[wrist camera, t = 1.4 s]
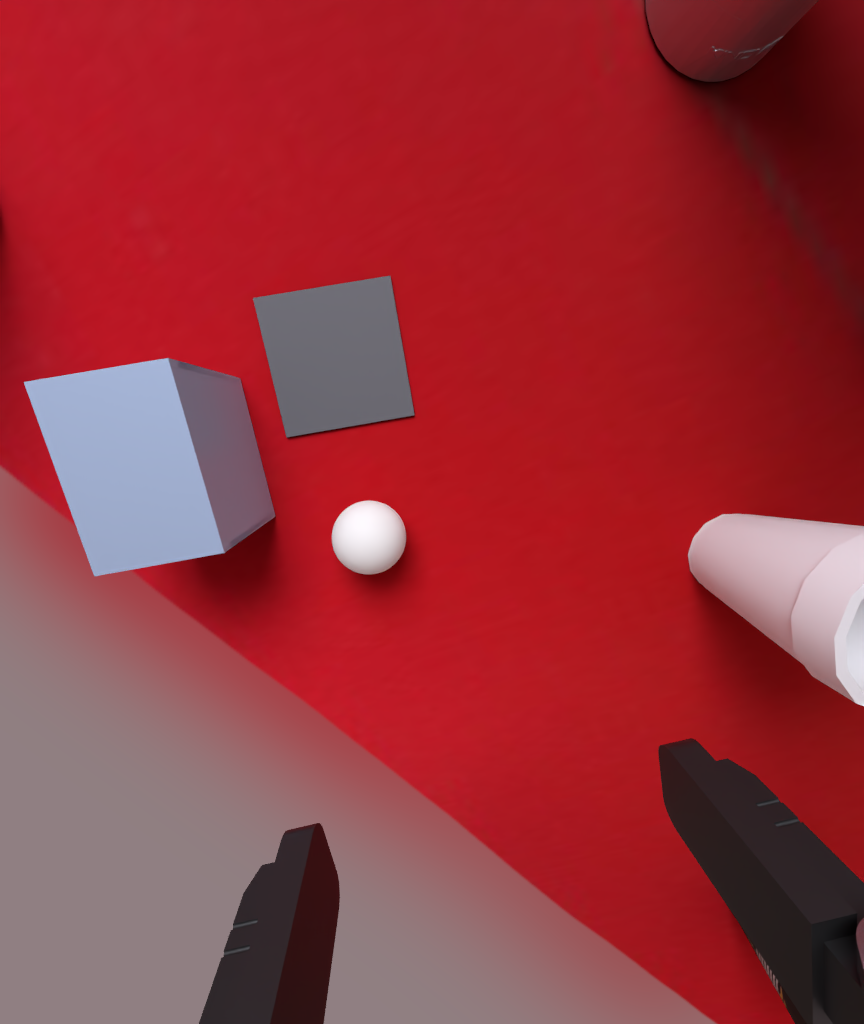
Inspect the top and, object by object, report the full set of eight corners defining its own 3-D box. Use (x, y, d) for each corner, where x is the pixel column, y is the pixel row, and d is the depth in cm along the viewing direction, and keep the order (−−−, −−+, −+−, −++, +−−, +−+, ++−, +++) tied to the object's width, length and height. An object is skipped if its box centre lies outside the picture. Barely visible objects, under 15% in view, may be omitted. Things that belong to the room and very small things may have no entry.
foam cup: (663, 610, 34) (819, 721, 21) (673, 497, 32) (850, 545, 19) (775, 603, 34) (993, 707, 22) (791, 491, 32) (1040, 535, 20)
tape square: (254, 298, 27) (253, 298, 27) (390, 276, 28) (390, 275, 27) (287, 437, 29) (286, 437, 29) (414, 415, 29) (414, 415, 29)
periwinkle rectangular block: (140, 395, 28) (23, 382, 19) (240, 378, 28) (167, 357, 20) (182, 532, 30) (94, 576, 22) (275, 516, 30) (224, 552, 22)
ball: (331, 501, 30) (317, 516, 25) (399, 489, 30) (398, 502, 26) (345, 566, 31) (335, 592, 27) (411, 554, 32) (412, 578, 27)
